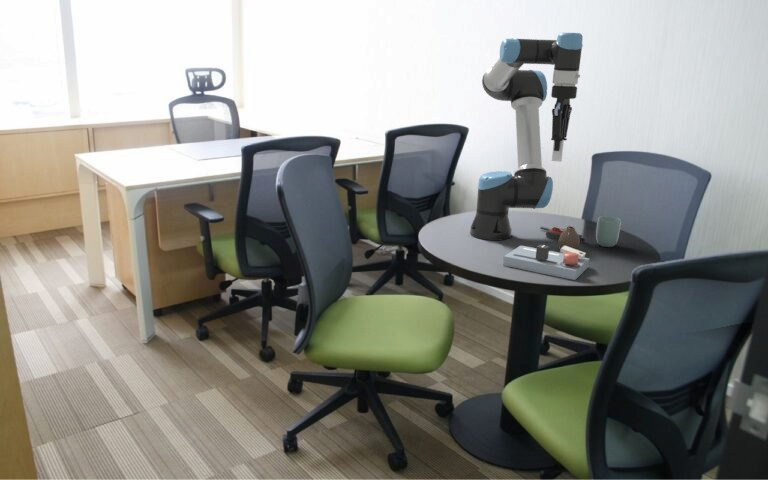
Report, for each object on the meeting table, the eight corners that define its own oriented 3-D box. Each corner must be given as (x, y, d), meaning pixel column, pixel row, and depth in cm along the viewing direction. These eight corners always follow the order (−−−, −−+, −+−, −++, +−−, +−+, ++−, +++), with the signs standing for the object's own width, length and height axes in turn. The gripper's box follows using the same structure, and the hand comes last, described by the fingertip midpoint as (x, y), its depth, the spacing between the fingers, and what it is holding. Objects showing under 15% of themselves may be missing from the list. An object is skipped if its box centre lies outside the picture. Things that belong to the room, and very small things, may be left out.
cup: (618, 249, 224) (622, 222, 221) (595, 247, 225) (599, 220, 222) (615, 243, 231) (619, 216, 228) (593, 241, 232) (596, 215, 230)
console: (502, 265, 203) (504, 252, 202) (519, 253, 215) (520, 241, 214) (574, 280, 191) (576, 266, 190) (588, 267, 204) (589, 254, 202)
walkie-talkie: (587, 242, 233) (541, 230, 247) (589, 230, 232) (542, 219, 246) (574, 246, 227) (528, 234, 241) (576, 234, 226) (529, 222, 240)
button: (561, 262, 194) (561, 254, 194) (565, 259, 198) (566, 251, 197) (575, 265, 192) (576, 257, 191) (579, 261, 196) (580, 253, 195)
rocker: (559, 251, 202) (561, 248, 201) (563, 248, 205) (564, 245, 205) (581, 259, 199) (582, 255, 198) (584, 256, 202) (586, 252, 201)
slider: (535, 259, 199) (536, 246, 198) (538, 256, 201) (540, 244, 200) (544, 260, 197) (546, 248, 196) (547, 258, 200) (549, 245, 199)
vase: (554, 251, 219) (556, 227, 217) (563, 247, 224) (565, 223, 222) (572, 256, 215) (575, 231, 212) (581, 251, 220) (584, 227, 217)
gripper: (570, 86, 190) (562, 164, 196) (582, 85, 200) (574, 159, 207) (546, 84, 193) (538, 162, 200) (559, 84, 204) (551, 157, 211)
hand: (556, 160), depth 203 cm, fingers closed
